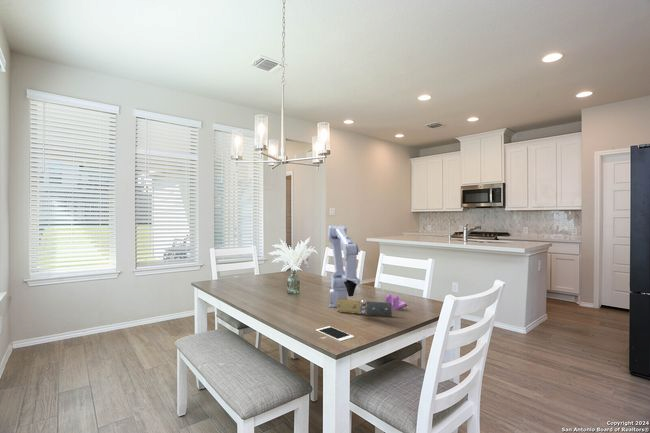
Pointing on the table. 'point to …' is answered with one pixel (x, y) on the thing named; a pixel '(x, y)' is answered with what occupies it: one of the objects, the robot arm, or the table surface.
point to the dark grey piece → (377, 308)
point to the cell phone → (335, 333)
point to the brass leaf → (349, 306)
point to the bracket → (395, 302)
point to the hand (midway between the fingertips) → (350, 296)
